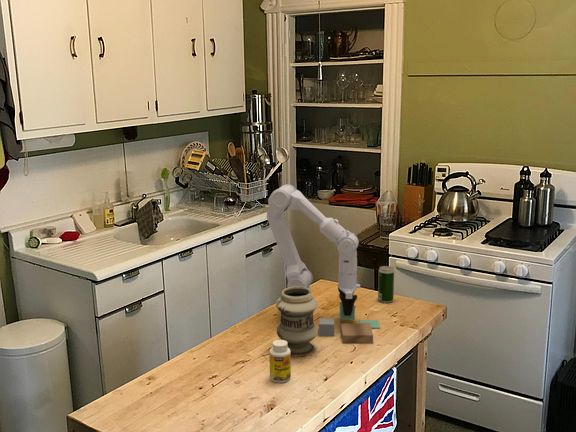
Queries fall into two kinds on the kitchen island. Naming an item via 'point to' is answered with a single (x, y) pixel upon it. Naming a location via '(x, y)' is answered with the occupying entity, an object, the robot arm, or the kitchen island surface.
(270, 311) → the kitchen island surface
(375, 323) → the teal square tile
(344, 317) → the teal block
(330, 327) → the slate block
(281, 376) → the supplement bottle
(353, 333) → the walnut block
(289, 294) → the apothecary jar
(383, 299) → the beer can
